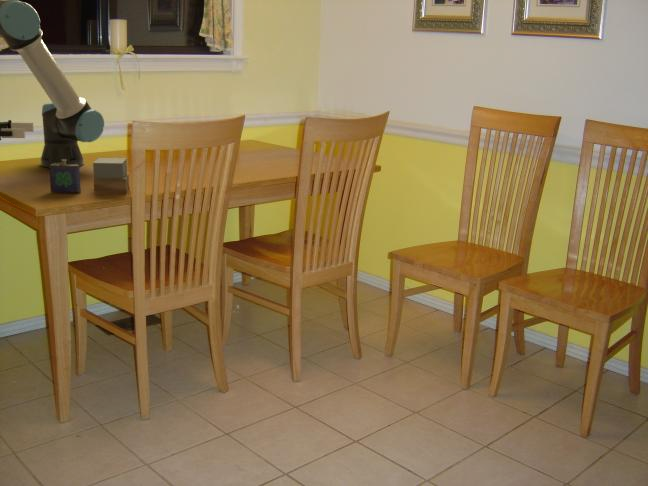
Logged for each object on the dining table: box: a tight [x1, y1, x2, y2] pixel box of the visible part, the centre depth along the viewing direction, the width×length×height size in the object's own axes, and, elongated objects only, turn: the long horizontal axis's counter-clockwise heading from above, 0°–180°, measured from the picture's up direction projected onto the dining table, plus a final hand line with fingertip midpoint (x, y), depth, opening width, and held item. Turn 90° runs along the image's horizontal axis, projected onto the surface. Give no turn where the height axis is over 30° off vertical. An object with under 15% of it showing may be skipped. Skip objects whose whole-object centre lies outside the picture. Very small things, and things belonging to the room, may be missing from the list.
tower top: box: [92, 157, 128, 180], centre depth 244 cm, size 9×9×5 cm
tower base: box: [93, 172, 130, 195], centre depth 245 cm, size 10×10×5 cm
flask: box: [48, 159, 82, 194], centre depth 239 cm, size 9×3×11 cm, turn 95°
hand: (29, 130), depth 233 cm, fingers open, 13 cm apart
